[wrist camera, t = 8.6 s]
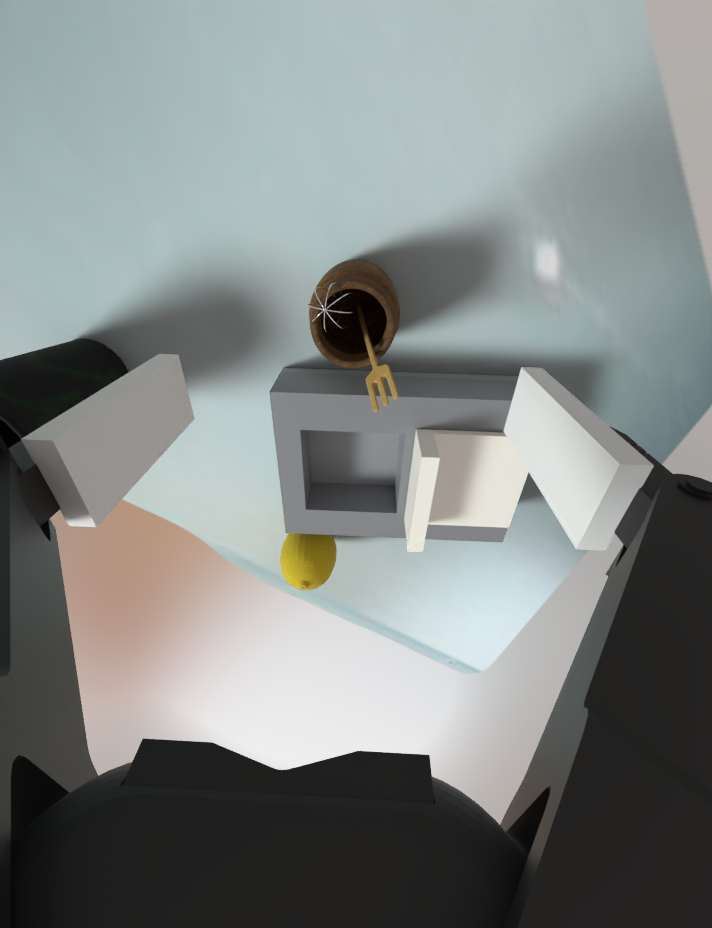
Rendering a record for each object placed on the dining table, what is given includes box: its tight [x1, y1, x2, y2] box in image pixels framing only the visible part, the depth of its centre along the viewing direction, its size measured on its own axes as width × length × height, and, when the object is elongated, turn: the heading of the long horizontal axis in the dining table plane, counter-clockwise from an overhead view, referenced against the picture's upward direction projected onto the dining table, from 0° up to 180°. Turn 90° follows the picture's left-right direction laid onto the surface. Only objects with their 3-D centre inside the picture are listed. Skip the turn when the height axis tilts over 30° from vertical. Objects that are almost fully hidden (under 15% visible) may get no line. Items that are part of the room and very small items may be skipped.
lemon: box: [281, 533, 336, 590], centre depth 37 cm, size 6×6×8 cm
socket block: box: [270, 368, 519, 542], centre depth 32 cm, size 14×20×5 cm
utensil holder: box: [307, 260, 400, 412], centre depth 22 cm, size 6×6×12 cm
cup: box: [0, 339, 128, 448], centre depth 26 cm, size 8×8×12 cm
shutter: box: [404, 429, 528, 552], centre depth 28 cm, size 9×9×4 cm
